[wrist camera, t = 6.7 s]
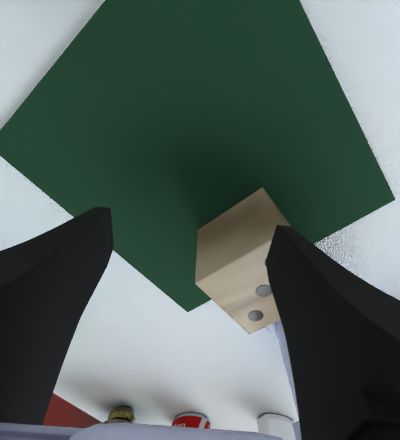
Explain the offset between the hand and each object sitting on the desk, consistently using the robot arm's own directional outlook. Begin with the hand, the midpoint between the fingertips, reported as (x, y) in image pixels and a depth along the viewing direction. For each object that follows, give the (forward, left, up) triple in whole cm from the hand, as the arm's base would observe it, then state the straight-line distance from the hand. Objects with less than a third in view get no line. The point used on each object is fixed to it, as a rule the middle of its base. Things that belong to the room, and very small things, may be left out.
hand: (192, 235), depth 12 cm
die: (-4, 0, -5) cm, 6 cm away
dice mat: (0, 0, -8) cm, 8 cm away
